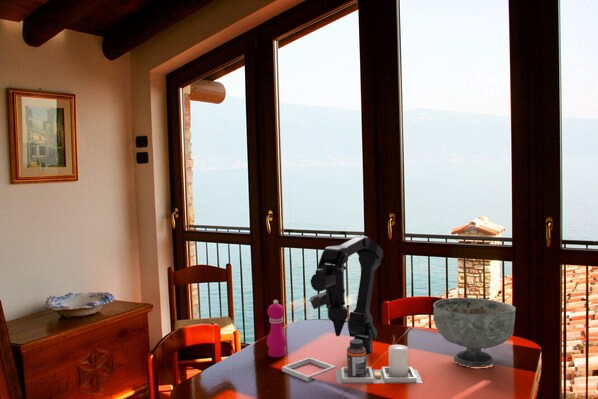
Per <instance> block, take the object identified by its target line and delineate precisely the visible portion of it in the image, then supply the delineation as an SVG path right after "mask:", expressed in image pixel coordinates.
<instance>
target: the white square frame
mask: <svg viewBox="0 0 598 399" xmlns="http://www.w3.org/2000/svg"><path fill="white" fill-rule="evenodd" d="M309 363H310V364H313V365H315V366H317V367H321V368H323V369H322V370H320V371H319V370H318V371H317V372H314V373H311V374H306V373H305V374H304V373H302V372H300V371H297V370H294V369H297V368H299V367H301V366H305V365H306V364H309ZM336 368H337V367H336V365H333V364H330V363H328V362H324V361H321V360H319V359H316V358H313V357H306V358H303V359H301V360H297V361H295V362H292V363H289V364H285V365H283V366H281V371H282V372H283V373H286V374H288V375H291V376H293V377H295V378H298V379H301V380H303V381H305V382H311V381H314V380H315V378H312V377H314V376H317V375H320V374H322V373H325V372H327V371H331V370H333V369H336Z"/></svg>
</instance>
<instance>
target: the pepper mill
mask: <svg viewBox="0 0 598 399" xmlns="http://www.w3.org/2000/svg"><path fill="white" fill-rule="evenodd" d="M267 315H268V316H269V320H268V321H269V323H270V331H269V335H268V336H267V340H266V346H267V347H268V348H269V349H268V356H269V357H272V358H282V357H284V356H286V354H287V353H286V352H287V351H286V346H287V344H288V342H287V337H286V335H285V331H284V330H283V322H284V317H283V316H284V315H285V309H284V306H283V305H282V304H280V303H279V300H277V299H274V300H273V304H270V305H269V306H268V308H267Z"/></svg>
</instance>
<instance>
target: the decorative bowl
mask: <svg viewBox="0 0 598 399" xmlns="http://www.w3.org/2000/svg"><path fill="white" fill-rule="evenodd" d="M432 306H433V316H432V318H433V321H434V325H435V327H436V330H437V331H438V333H439V334H440V336H442V337H443V338H444V339H445V340H447V342H449V343H452V344H454V345H457V346H460V347H463V348H465V349H466V350H461V351H459V352H458V353H455V355H454V356H453V362H454V361H455V362H457V363H458V364H461V365H465V366H469V367H486V366H490V365H492V364H493V363H494V358H493V356H491V354H489V353H488V352H485V351H482V349H488V348H489V349H490V348H494V347H497V346H499V345H501V344H504V343H505V342H507V341H508V340H509V339H510V338H511V337H512V336H513V335H514V330H515V323H516V322H515V321H516V320H515V319H516V306H514V305H512V304H510V303H507V302H501V301H499V300H492V299H486V298H475V297H452V298H451V297H449V298H443V299H439V300H436V301H435V302H434V303H433V305H432ZM455 362H454V363H455ZM458 364H457V365H458ZM493 365H494V364H493Z"/></svg>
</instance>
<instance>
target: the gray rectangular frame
mask: <svg viewBox="0 0 598 399" xmlns="http://www.w3.org/2000/svg"><path fill="white" fill-rule="evenodd" d="M335 379H336V384H423V381H422V378H421V376H420V373H419V372H418V369H414V368H413V367H412V366H408V377H389V366H381V369H372V366H366V376H365V377H349V376H348V373H347V366H341V367H340V369H336V370H335Z"/></svg>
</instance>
